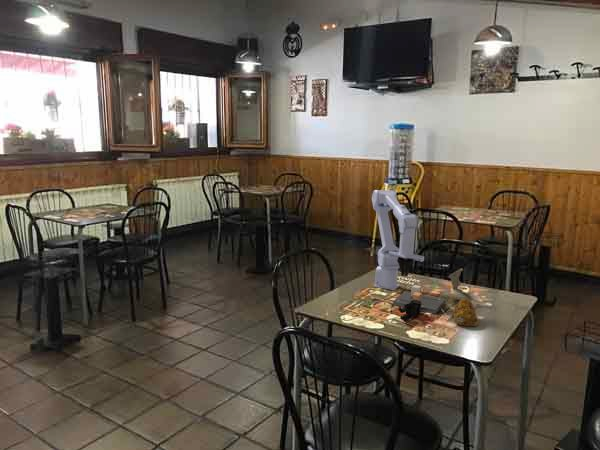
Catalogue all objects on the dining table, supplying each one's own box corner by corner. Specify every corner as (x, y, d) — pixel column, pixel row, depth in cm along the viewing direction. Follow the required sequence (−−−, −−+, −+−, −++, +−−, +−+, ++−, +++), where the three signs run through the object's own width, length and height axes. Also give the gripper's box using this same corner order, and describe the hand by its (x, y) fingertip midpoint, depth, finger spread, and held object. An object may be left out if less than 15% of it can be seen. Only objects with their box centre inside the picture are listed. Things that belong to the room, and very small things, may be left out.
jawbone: (466, 303, 209) (472, 300, 195) (448, 306, 210) (454, 302, 196) (459, 272, 213) (466, 266, 199) (442, 274, 214) (447, 269, 199)
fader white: (410, 296, 196) (411, 287, 196) (413, 293, 200) (414, 285, 199) (416, 297, 195) (417, 288, 195) (419, 294, 199) (420, 286, 198)
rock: (476, 333, 176) (482, 322, 168) (454, 335, 176) (458, 324, 168) (468, 305, 182) (473, 293, 174) (446, 308, 183) (450, 296, 175)
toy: (412, 309, 186) (413, 293, 185) (424, 312, 184) (425, 296, 182) (396, 322, 174) (397, 305, 172) (409, 325, 171) (410, 308, 170)
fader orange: (412, 303, 188) (412, 294, 188) (415, 300, 192) (415, 291, 191) (418, 304, 187) (419, 295, 186) (421, 301, 190) (421, 293, 190)
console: (392, 304, 191) (393, 301, 190) (404, 294, 204) (404, 291, 203) (435, 313, 182) (435, 309, 182) (444, 302, 195) (445, 298, 195)
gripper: (386, 243, 196) (384, 275, 199) (421, 248, 189) (419, 281, 192) (392, 240, 202) (390, 271, 205) (426, 244, 195) (423, 276, 198)
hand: (404, 275), depth 199 cm, fingers closed
